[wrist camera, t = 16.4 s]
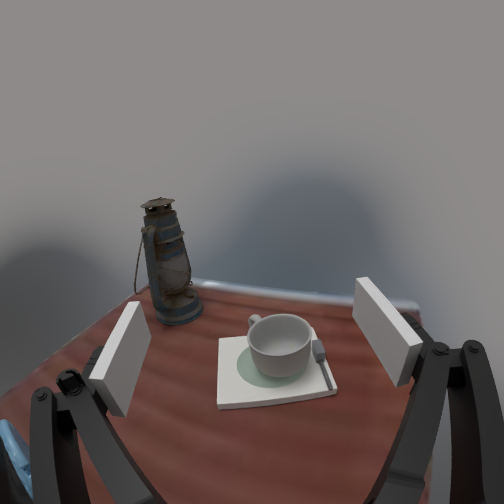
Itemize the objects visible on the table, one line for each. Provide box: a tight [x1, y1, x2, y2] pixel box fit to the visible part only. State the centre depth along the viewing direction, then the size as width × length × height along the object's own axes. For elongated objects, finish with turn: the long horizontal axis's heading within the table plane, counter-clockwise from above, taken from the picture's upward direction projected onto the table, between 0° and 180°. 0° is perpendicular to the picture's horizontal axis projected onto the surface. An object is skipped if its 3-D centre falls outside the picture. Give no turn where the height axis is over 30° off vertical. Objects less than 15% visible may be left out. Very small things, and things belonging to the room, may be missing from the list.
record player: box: [217, 327, 337, 410], centre depth 50 cm, size 20×18×4 cm
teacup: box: [247, 314, 312, 377], centre depth 49 cm, size 14×11×8 cm
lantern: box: [134, 197, 203, 325], centre depth 67 cm, size 19×14×30 cm
